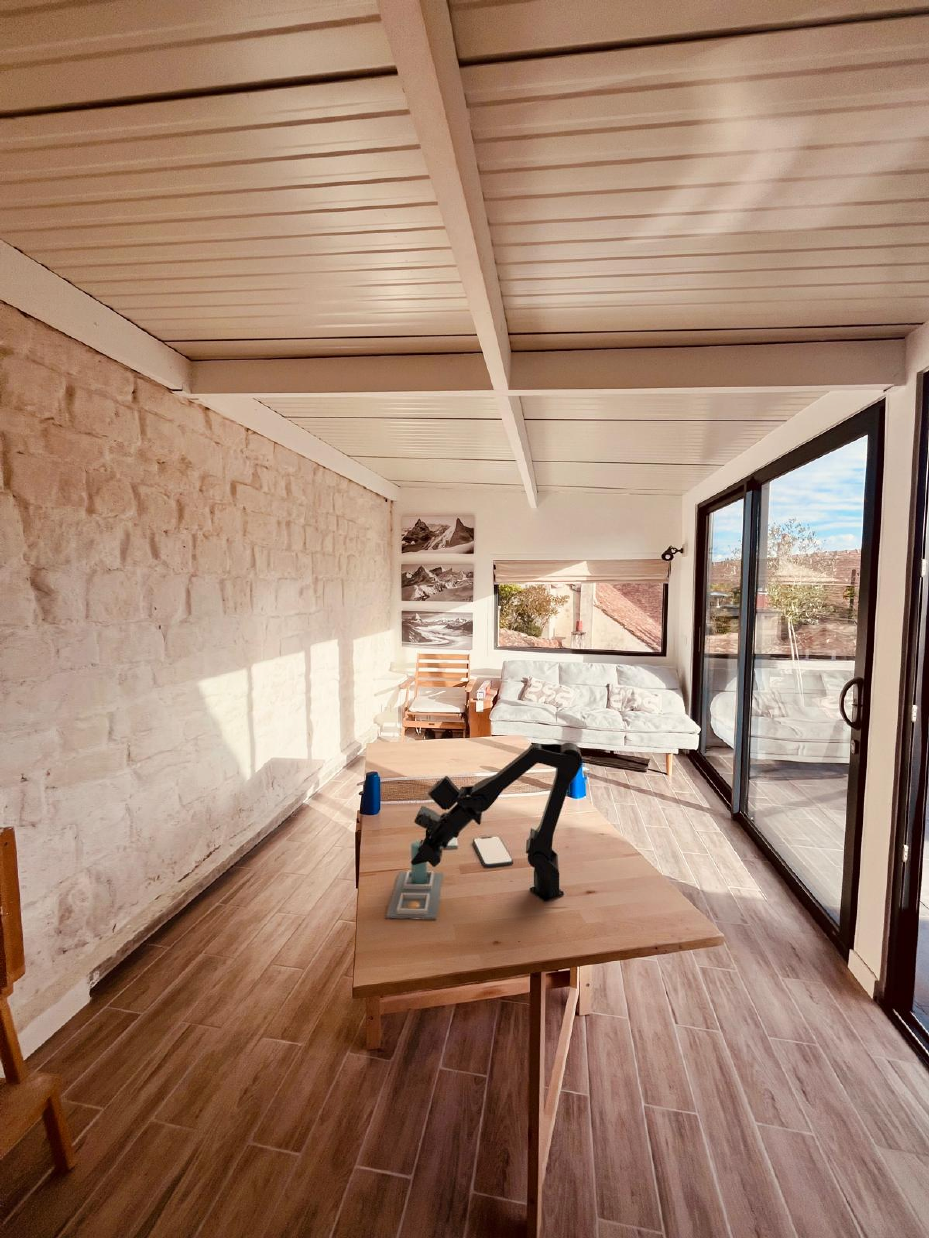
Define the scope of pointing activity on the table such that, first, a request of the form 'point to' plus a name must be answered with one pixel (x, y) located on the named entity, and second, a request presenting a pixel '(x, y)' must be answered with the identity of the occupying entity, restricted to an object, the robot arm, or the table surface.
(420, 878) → the pin
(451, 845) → the hard drive
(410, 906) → the pin board
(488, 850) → the white smartphone
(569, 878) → the table surface
